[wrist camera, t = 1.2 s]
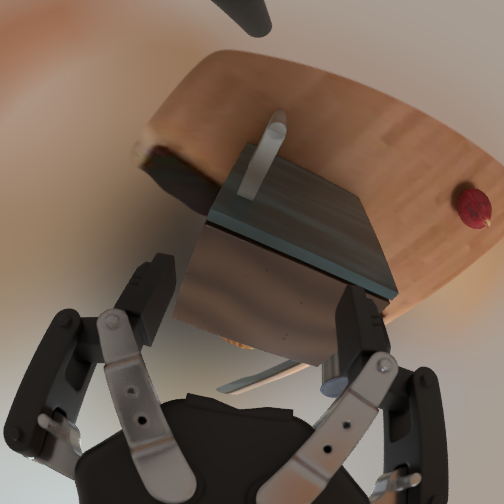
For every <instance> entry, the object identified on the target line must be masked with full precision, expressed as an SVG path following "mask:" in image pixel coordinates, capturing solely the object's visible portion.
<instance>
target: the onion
mask: <svg viewBox="0 0 504 504" xmlns="http://www.w3.org/2000/svg"><path fill="white" fill-rule="evenodd" d="M457 209H458V214H459V216H460V218H461V220H462V221H463V223H464V224H465V225H467V226H469V227H471V228H473V229H481V228H483V227H485V226H486V227H489V226H490V225H491V221H490V218H491V212H492V208H491V203H490V201H489V199H488V197H487V196H486V194H485V193H483V192H482V191H480V190H479V189H474V188H471V189H467V190H465V191H464V192H463V193H462V194H461V195H460V197H459V199H458V204H457Z"/></svg>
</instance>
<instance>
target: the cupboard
mask: <svg viewBox="0 0 504 504" xmlns="http://www.w3.org/2000/svg"><path fill="white" fill-rule="evenodd" d="M347 285H355V286H358V285H356V284H354V283H352V282H349V281H347V280H345V279H343V278H340V277H338V276H336V275H334V274H331V273H329V272H327V271H324V270H322V269H320V268H318V267H315V266H313V265H311V264H309V263H306V262H304V261H302V260H299V259H297V258H295V257H292V256H290V255H288V254H286V253H283V252H281V251H279V250H276V249H274V248H272V247H269V246H267V245H265V244H262V243H260V242H258V241H255V240H253V239H251V238H248V237H246V236H244V235H241V234H239V233H237V232H234V231H232V230H230V229H227V228H225V227H223V226H220V225H218V224H216V223H213V222H211V221H209V220H207V219H206V221H205V223H204V226H203V229H202V231H201V234H200V236H199V239H198V242H197V244H196V247H195V250H194V252H193V255H192V258H191V260H190V263H189V266H188V269H187V272H186V274H185V277H184V280H183V283H182V286H181V289H180V292H179V294H178V297H177V300H176V303H175V306H174V309H173V312H172V315H171V317H172V318H175V319H177V320H180V321H182V322H185V323H187V324H190V325H192V326H195V327H197V328H200V329H202V330H205V331H208V332H210V333H213V334H216V335H218V336H221V337H224V338H227V339H229V340H232V341H235V342H238V343H241V344H244V345H247V346H250V347H253V348H256V349H259V350H262V351H265V352H268V353H271V354H275V355H278V356H281V357H284V358H288V359H291V360H294V361H298V362H301V363H305V364H308V365H312V366H316V367H317V366H319V365H320V364H322V363H323V362H324V361H325V360H327V359H328V358H329V357H330V356H332V355H333V354H334V353H335V352H337V351H338V346H337V335H336V325H335V311H336V308H337V305H338V303H339V301H340V299H341V297H342V295H343V292H344V290H345V288H346V286H347ZM364 289H365V288H364ZM365 293H366V297H367V298H368V299H372V300H373V302H374V303H375V305H376V306H377V308H378V312H379V314H380V313H381V312H382V311H383V310H384V309H385V308H386V307H387V306H388V305H389V304H390V302H389V299H387V298H385V297H383V296H381V295H378V294H376V293H374V292H372V291H370V290H367V289H365Z"/></svg>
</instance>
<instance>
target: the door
mask: <svg viewBox="0 0 504 504" xmlns="http://www.w3.org/2000/svg"><path fill="white" fill-rule="evenodd" d="M286 134H287V114H286V112H285V111H284V110H281V109H278V110H276V111H275V112H274V113H273V115H272V117H271V119H270V121H269V123H268V125H267V127H266V129H265V131H264V133H263V135H262V137H261V140H260V142H259V144H258V146H255V145H253V144H250V143H248V142H247V143H246V145H245V147H244V149H243V150H242V152H241V154H240V156H239V157H238V159H237V161H236V163H235V164H234V166H233V168H232V170H231V172H230V173H229V175H228V177H227V179H226V181H225V182H224V184H223V186H222V188H221V190H220V192H219V193H218V195H217V197H216V199H215V201H214V203H213V205H212V206H211V208H210V211H209V213H208V216H207V220H209V221H211V222H213V223H216V224H218V225H220V226H223V227H225V228H227V229H230V230H232V231H234V232H237V233H239V234H241V235H244V236H246V237H248V238H251V239H253V240H255V241H258V242H260V243H262V244H265V245H267V246H269V247H272V248H274V249H276V250H279V251H281V252H283V253H286V254H288V255H290V256H292V257H295V258H297V259H299V260H302V261H304V262H306V263H309V264H311V265H313V266H315V267H318V268H320V269H322V270H324V271H327V272H329V273H331V274H334V275H336V276H338V277H340V278H343V279H345V280H347V281H349V282H352V283H354V284H356V285H358V286H362V287H364V288H365V289H367V290H370V291H372V292H374V293H376V294H378V295H381V296H383V297H385V298H387V299H390V300H393V299H394V298H395V297H396V296H397V295H398V290H397V287H396V284H395V282H394V279H393V276H392V274H391V271H390V268H389V266H388V263H387V261H386V258H385V256H384V253H383V251H382V248H381V246H380V244H379V241H378V239H377V236H376V234H375V232H374V230H373V227H372V225H371V223H370V221H369V218H368V216H367V214H366V212H365V210H364V208H363V206H362V203H361V201H360V199H359V198H358V197H356V196H354V195H353V194H351V193H349V192H347V191H346V190H344V189H342V188H340V187H338V186H337V185H335V184H333V183H331V182H329V181H327V180H325V179H323V178H322V177H320V176H318V175H316V174H314V173H312V172H310V171H308V170H306V169H304V168H302V167H300V166H298V165H296V164H294V163H292V162H290V161H288V160H286V159H283V158H281V157H279V156H277V155H276V154H277V152H278V150H279V148H280V146H281V144H282V142H283V140H284V138H285V136H286Z"/></svg>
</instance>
